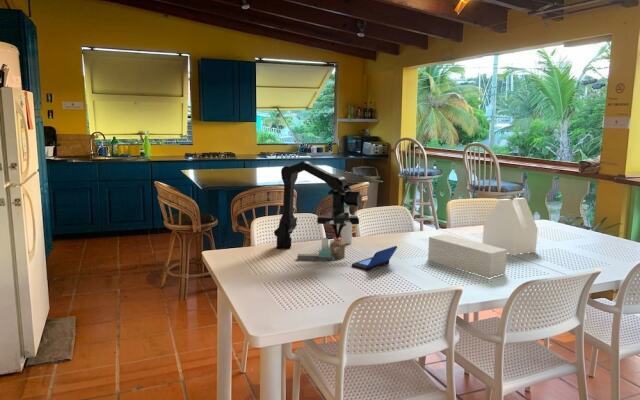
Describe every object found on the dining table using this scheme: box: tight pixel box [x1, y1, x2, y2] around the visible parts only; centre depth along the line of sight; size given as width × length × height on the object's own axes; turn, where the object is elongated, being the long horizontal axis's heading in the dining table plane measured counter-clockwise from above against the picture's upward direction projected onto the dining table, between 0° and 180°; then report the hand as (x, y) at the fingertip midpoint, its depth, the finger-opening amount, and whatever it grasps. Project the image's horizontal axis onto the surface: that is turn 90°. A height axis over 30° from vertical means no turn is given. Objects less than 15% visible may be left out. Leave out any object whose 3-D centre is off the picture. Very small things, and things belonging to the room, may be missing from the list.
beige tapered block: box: [482, 197, 539, 256], centre depth 241 cm, size 19×15×25 cm
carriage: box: [318, 237, 331, 257], centre depth 219 cm, size 5×5×8 cm
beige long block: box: [427, 233, 508, 278], centre depth 212 cm, size 32×11×11 cm, turn 36°
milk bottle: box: [337, 204, 353, 245], centre depth 249 cm, size 8×8×20 cm
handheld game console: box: [351, 245, 398, 272], centre depth 211 cm, size 16×13×9 cm
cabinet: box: [329, 239, 346, 259], centre depth 227 cm, size 6×8×6 cm
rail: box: [297, 253, 335, 261], centre depth 220 cm, size 16×3×2 cm, turn 92°
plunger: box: [333, 237, 341, 243], centre depth 226 cm, size 3×3×5 cm
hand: (337, 238), depth 226 cm, fingers closed, pressing on plunger
